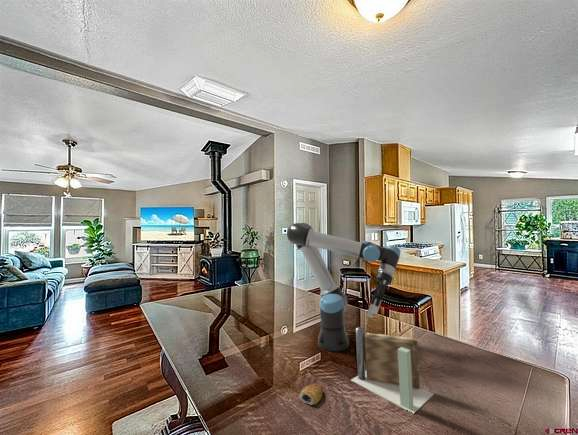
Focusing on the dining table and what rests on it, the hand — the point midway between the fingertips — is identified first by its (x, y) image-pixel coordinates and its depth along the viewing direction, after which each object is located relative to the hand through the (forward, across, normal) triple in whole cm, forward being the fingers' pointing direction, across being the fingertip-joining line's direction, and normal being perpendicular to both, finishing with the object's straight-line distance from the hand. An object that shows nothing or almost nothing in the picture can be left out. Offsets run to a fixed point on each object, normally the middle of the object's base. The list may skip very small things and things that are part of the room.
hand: (371, 315), depth 124 cm
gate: (+22, -18, -12) cm, 31 cm away
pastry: (+40, -25, +12) cm, 48 cm away
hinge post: (+26, -15, -2) cm, 30 cm away
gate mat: (+24, -19, -12) cm, 33 cm away
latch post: (+27, -28, -16) cm, 42 cm away
